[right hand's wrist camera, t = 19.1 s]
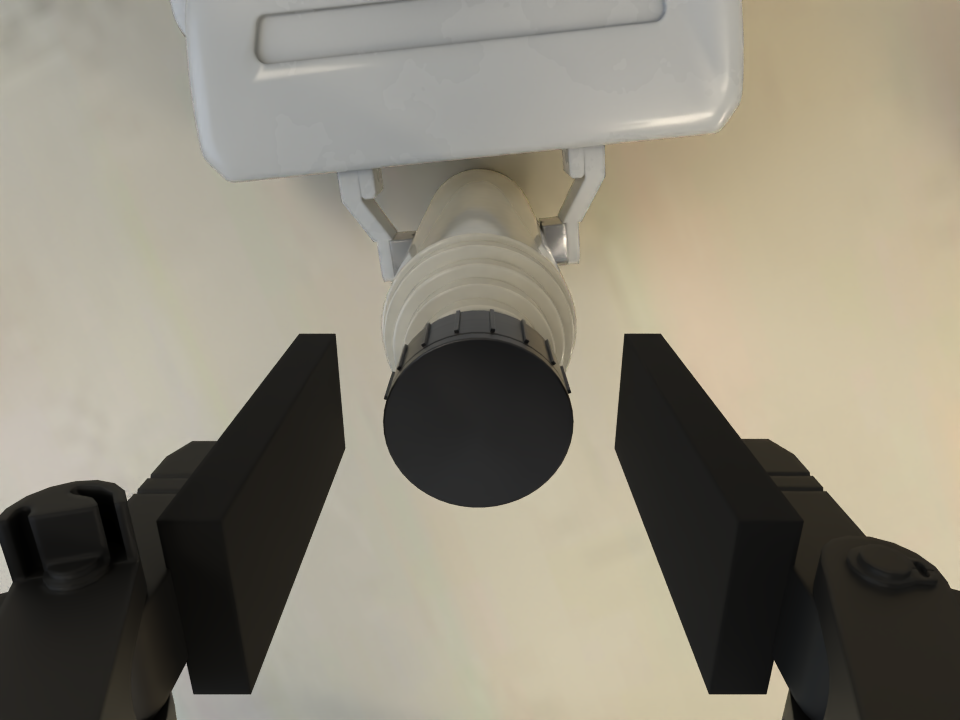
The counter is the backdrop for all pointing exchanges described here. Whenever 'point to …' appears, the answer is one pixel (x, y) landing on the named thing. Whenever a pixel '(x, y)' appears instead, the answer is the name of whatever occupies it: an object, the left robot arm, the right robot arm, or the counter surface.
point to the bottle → (479, 266)
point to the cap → (478, 410)
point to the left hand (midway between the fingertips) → (482, 270)
